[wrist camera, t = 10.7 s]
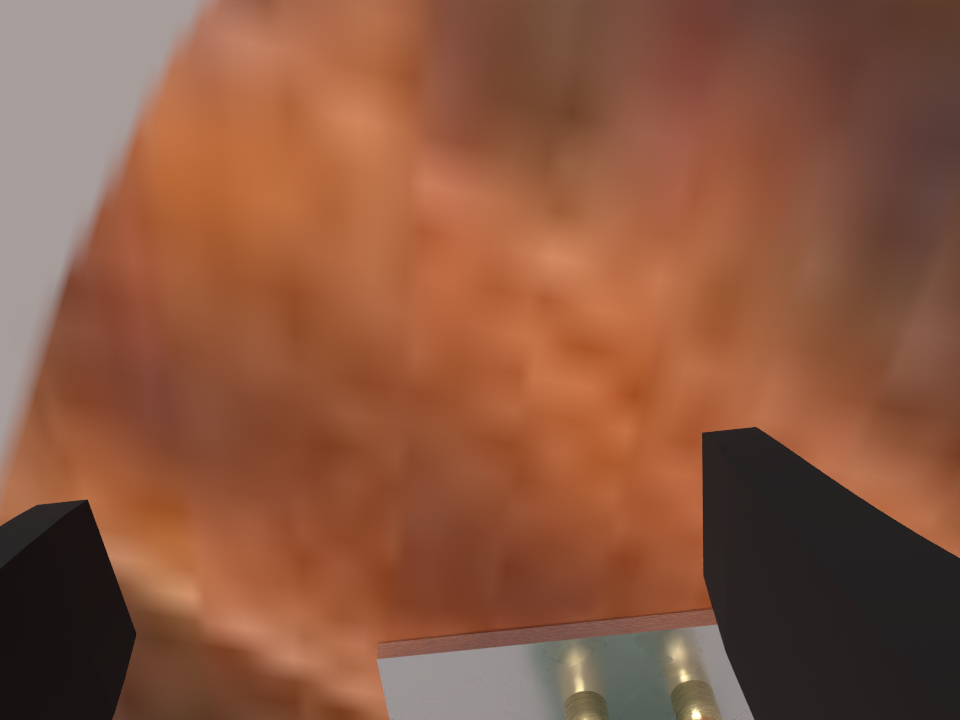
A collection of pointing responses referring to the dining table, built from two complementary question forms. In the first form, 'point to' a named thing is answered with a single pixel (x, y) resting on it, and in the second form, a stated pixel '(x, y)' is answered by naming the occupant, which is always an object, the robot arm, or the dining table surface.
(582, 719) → the standoff posts
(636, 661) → the plate
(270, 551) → the dining table surface
